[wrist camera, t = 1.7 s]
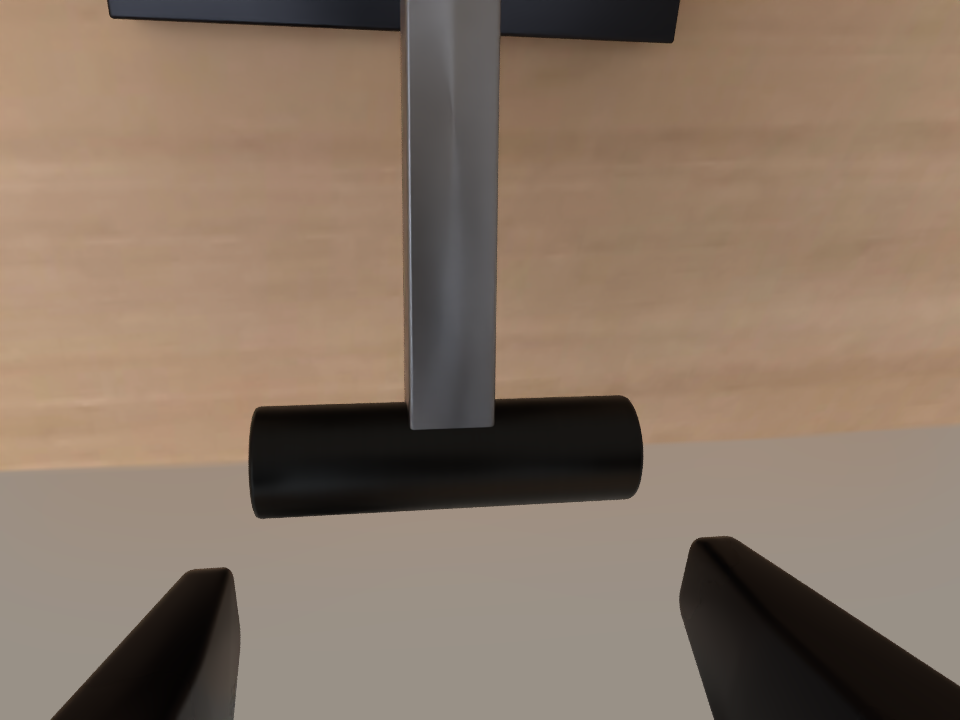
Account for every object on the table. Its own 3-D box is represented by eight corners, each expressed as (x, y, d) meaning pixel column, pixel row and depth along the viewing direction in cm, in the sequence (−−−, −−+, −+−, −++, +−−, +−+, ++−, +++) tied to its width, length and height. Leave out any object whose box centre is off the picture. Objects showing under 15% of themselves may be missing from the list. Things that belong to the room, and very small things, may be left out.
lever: (597, 466, 12) (655, 531, 9) (269, 480, 11) (245, 556, 9) (639, -463, 9) (732, -685, 7) (217, -529, 8) (164, -803, 6)
